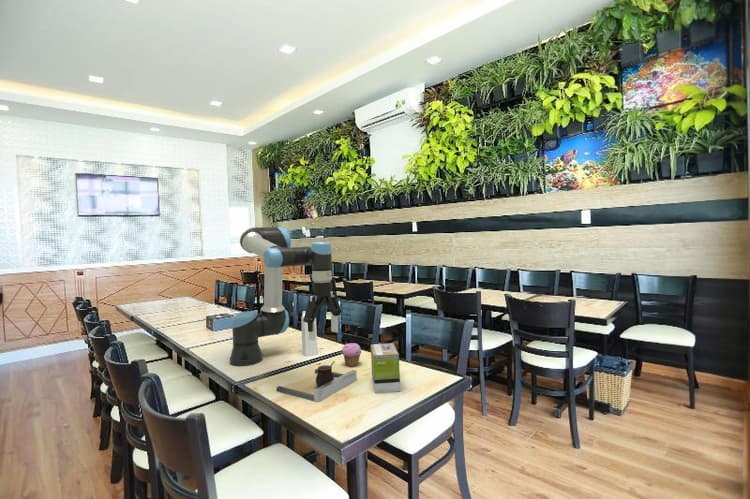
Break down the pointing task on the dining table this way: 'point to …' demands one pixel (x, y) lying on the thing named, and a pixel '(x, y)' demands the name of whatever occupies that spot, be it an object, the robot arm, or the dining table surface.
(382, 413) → the dining table surface
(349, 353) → the cupcake
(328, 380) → the mate gourd
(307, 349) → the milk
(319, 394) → the u-shaped bar frame
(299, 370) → the dining table surface
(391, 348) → the tea box
